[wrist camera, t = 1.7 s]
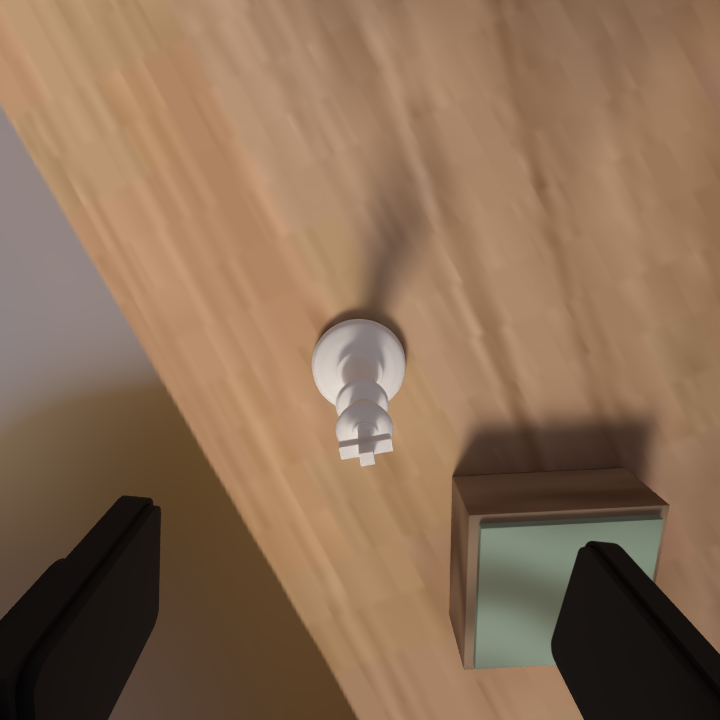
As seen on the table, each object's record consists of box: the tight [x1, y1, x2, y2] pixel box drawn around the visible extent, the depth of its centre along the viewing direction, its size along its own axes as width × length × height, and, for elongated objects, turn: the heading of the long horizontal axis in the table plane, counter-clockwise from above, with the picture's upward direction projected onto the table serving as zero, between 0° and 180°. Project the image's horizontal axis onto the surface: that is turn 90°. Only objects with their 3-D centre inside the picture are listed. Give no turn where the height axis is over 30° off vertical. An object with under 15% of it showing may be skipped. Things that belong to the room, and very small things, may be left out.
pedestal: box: [449, 468, 669, 670], centre depth 24 cm, size 10×10×4 cm
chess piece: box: [312, 319, 406, 466], centre depth 18 cm, size 5×5×10 cm
